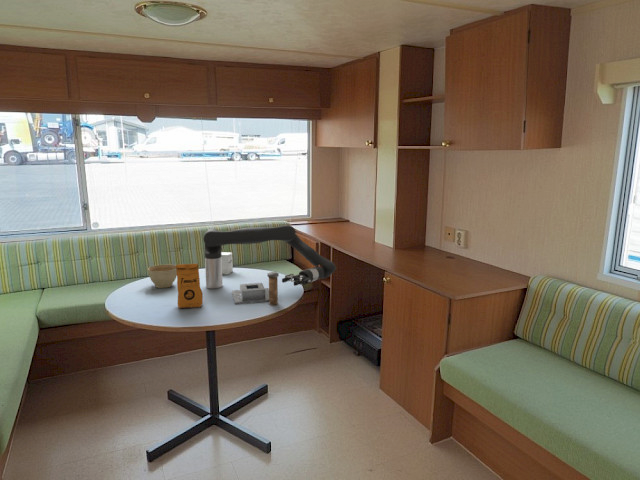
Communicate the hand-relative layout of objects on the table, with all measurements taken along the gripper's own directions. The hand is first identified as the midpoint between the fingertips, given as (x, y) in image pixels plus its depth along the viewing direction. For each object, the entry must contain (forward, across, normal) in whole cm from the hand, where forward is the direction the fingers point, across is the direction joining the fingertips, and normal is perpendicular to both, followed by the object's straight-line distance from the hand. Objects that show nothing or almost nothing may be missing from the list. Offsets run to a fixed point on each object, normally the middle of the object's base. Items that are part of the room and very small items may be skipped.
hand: (288, 282), depth 240 cm
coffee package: (+41, -29, +9) cm, 51 cm away
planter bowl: (+31, -70, +9) cm, 77 cm away
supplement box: (-10, -66, +9) cm, 67 cm away
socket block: (+10, -17, +9) cm, 22 cm away
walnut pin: (+11, 0, +9) cm, 14 cm away
